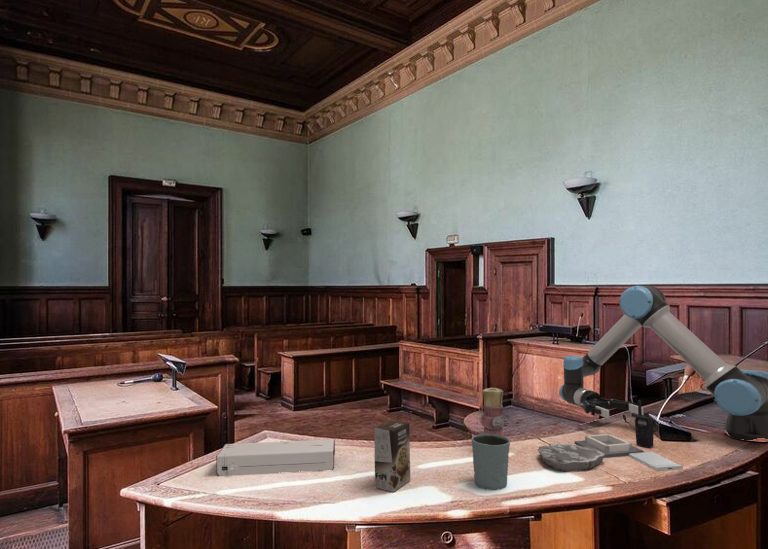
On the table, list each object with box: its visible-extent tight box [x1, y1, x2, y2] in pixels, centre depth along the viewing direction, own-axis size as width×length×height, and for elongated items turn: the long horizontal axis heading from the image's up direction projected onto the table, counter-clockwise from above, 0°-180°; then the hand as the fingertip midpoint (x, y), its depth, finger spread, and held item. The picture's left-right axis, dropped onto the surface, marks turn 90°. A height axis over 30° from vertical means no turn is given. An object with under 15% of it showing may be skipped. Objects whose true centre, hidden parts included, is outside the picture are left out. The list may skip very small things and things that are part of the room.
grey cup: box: [471, 433, 511, 491], centre depth 132 cm, size 10×10×12 cm
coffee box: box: [373, 420, 411, 493], centre depth 133 cm, size 9×6×16 cm
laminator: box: [215, 439, 336, 477], centre depth 147 cm, size 34×12×6 cm, turn 95°
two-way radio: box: [634, 399, 655, 449], centre depth 161 cm, size 6×4×15 cm
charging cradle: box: [574, 433, 645, 459], centre depth 158 cm, size 15×14×3 cm
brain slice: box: [537, 443, 605, 472], centre depth 147 cm, size 20×17×3 cm
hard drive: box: [628, 451, 684, 472], centre depth 145 cm, size 2×8×12 cm
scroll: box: [479, 387, 505, 436], centre depth 158 cm, size 8×8×20 cm
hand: (625, 413), depth 170 cm, fingers open, 13 cm apart
